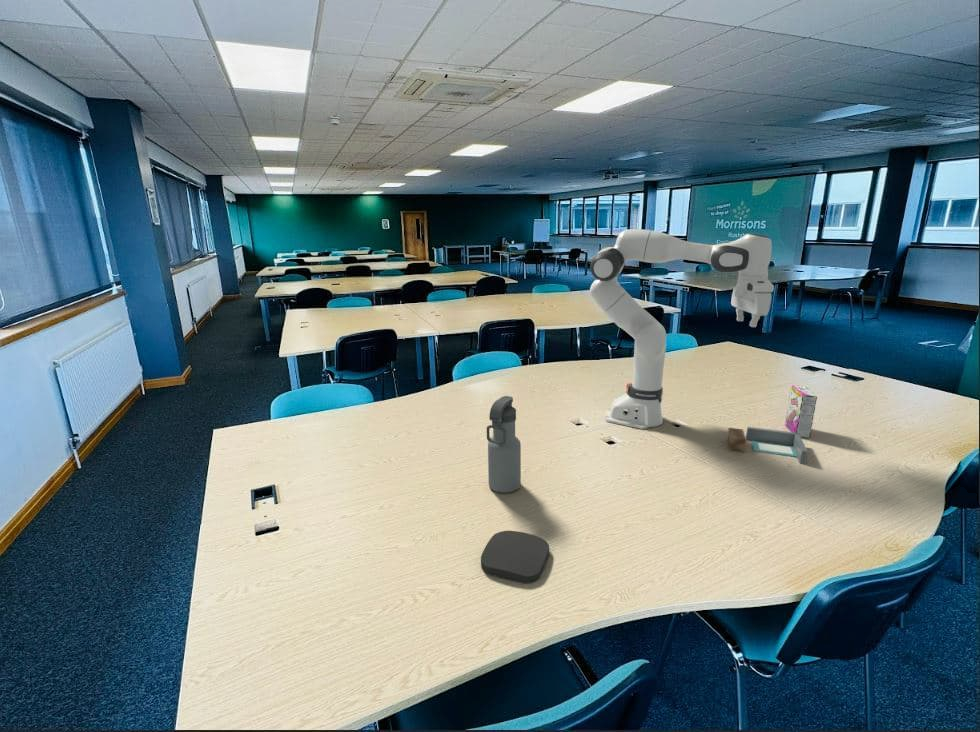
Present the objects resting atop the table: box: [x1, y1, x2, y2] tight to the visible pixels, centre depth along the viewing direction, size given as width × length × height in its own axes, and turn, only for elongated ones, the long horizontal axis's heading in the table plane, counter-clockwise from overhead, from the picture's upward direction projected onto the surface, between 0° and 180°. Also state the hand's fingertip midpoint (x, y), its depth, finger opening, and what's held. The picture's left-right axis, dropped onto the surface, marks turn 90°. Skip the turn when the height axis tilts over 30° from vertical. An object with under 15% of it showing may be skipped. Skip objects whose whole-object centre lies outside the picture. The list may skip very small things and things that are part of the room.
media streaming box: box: [480, 530, 550, 584], centre depth 116 cm, size 15×15×3 cm
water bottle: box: [486, 395, 522, 494], centre depth 144 cm, size 10×10×28 cm
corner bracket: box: [745, 426, 808, 465], centre depth 167 cm, size 16×15×4 cm
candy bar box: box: [784, 384, 818, 439], centre depth 179 cm, size 11×5×16 cm, turn 168°
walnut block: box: [726, 427, 747, 454], centre depth 170 cm, size 4×9×5 cm, turn 160°
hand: (746, 323), depth 167 cm, fingers open, 8 cm apart
